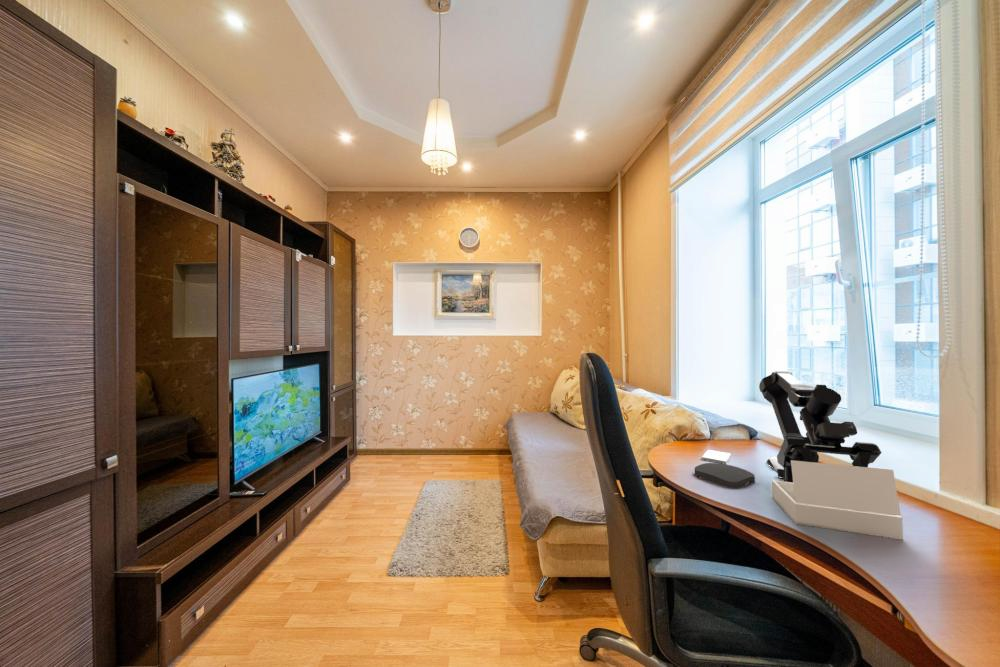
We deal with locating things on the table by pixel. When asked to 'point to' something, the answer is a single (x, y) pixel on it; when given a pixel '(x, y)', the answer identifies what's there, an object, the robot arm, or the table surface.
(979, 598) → the table surface
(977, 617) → the table surface
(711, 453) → the external hard drive
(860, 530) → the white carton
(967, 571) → the table surface
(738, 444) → the table surface
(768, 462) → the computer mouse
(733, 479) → the media streaming box
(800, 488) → the box flap
